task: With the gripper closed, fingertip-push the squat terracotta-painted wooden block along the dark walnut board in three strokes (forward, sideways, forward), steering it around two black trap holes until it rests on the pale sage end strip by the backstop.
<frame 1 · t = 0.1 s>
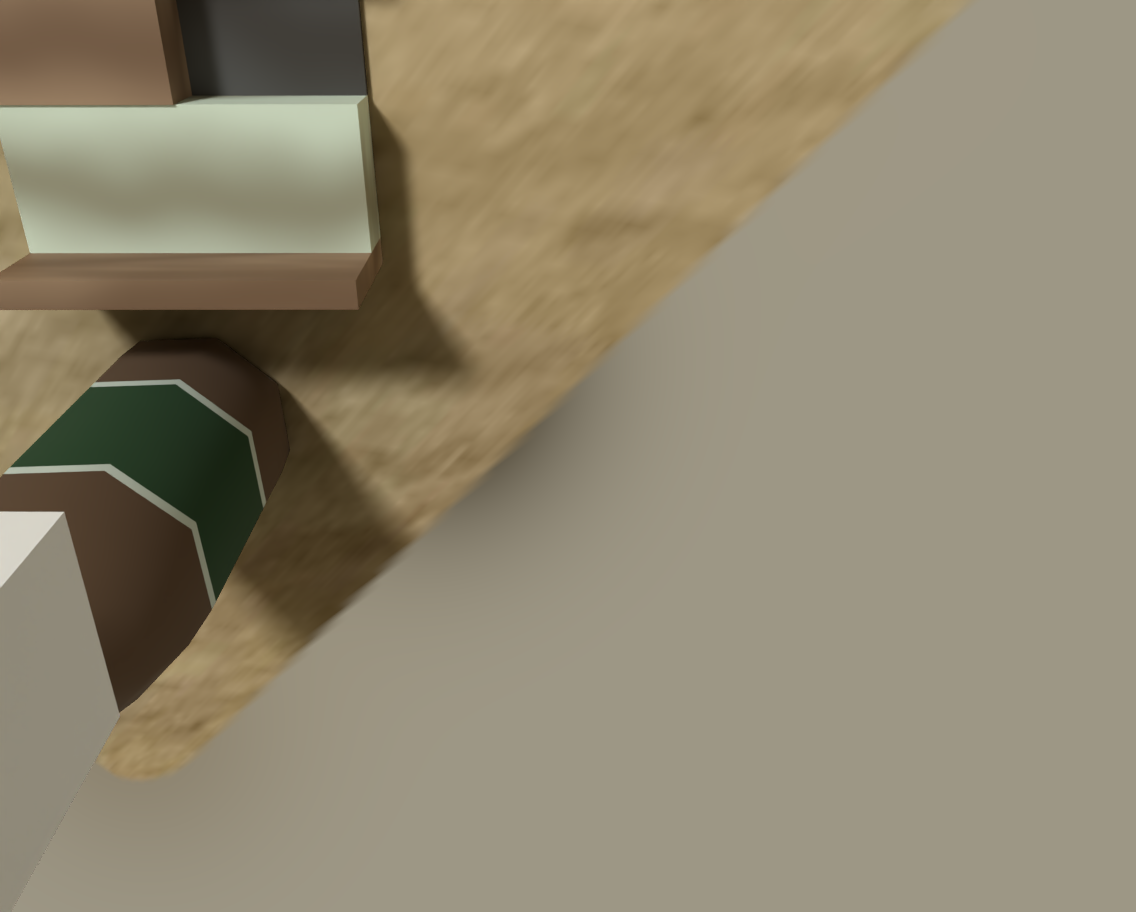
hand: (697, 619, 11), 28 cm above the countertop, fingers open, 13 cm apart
beer bottle: (201, 414, 41), on the countertop
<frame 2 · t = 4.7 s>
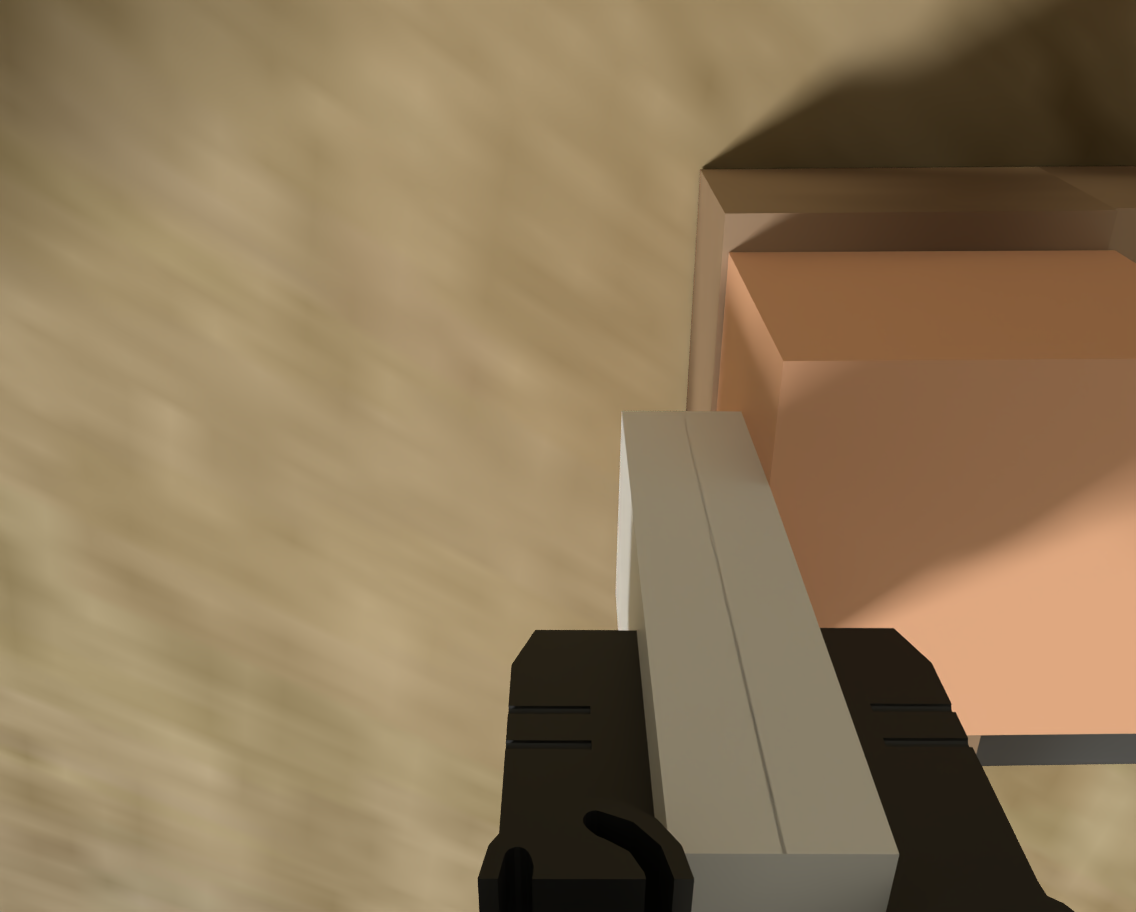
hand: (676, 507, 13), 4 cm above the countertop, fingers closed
block: (892, 423, 14), point 2 cm above the countertop, touching gripper
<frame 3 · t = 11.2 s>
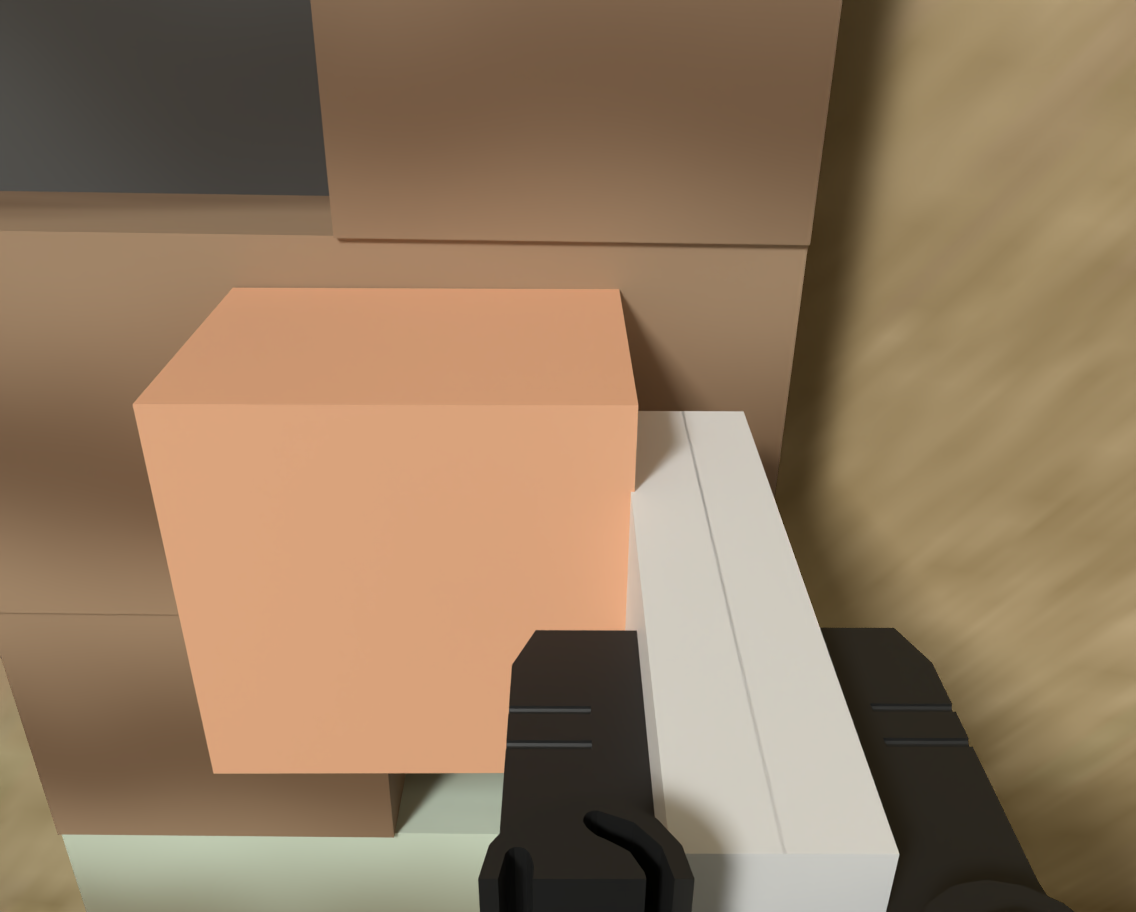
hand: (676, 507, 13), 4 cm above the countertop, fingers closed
block: (437, 457, 14), point 2 cm above the countertop, touching board, gripper
board: (380, 381, 16), on the countertop
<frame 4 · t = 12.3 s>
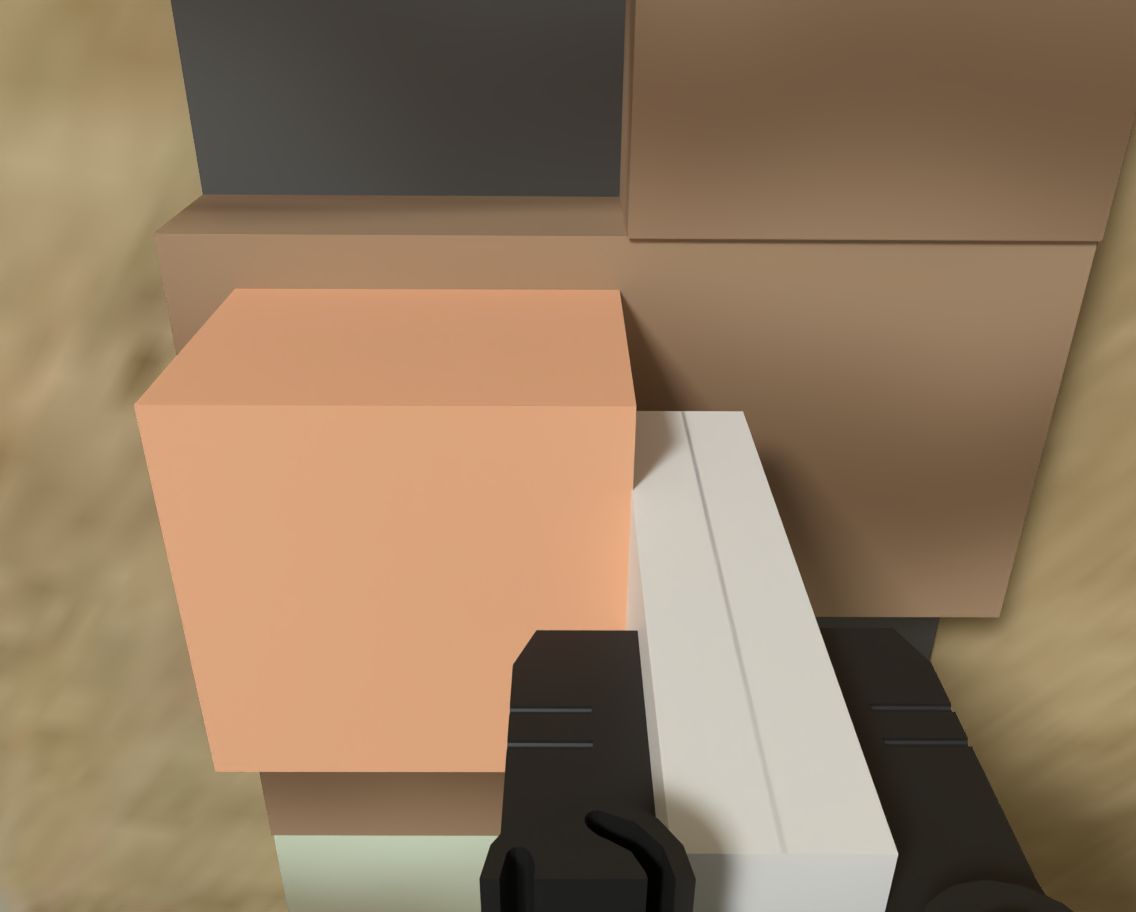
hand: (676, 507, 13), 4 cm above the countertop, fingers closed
block: (438, 457, 14), point 2 cm above the countertop, touching board, gripper
board: (613, 381, 16), on the countertop
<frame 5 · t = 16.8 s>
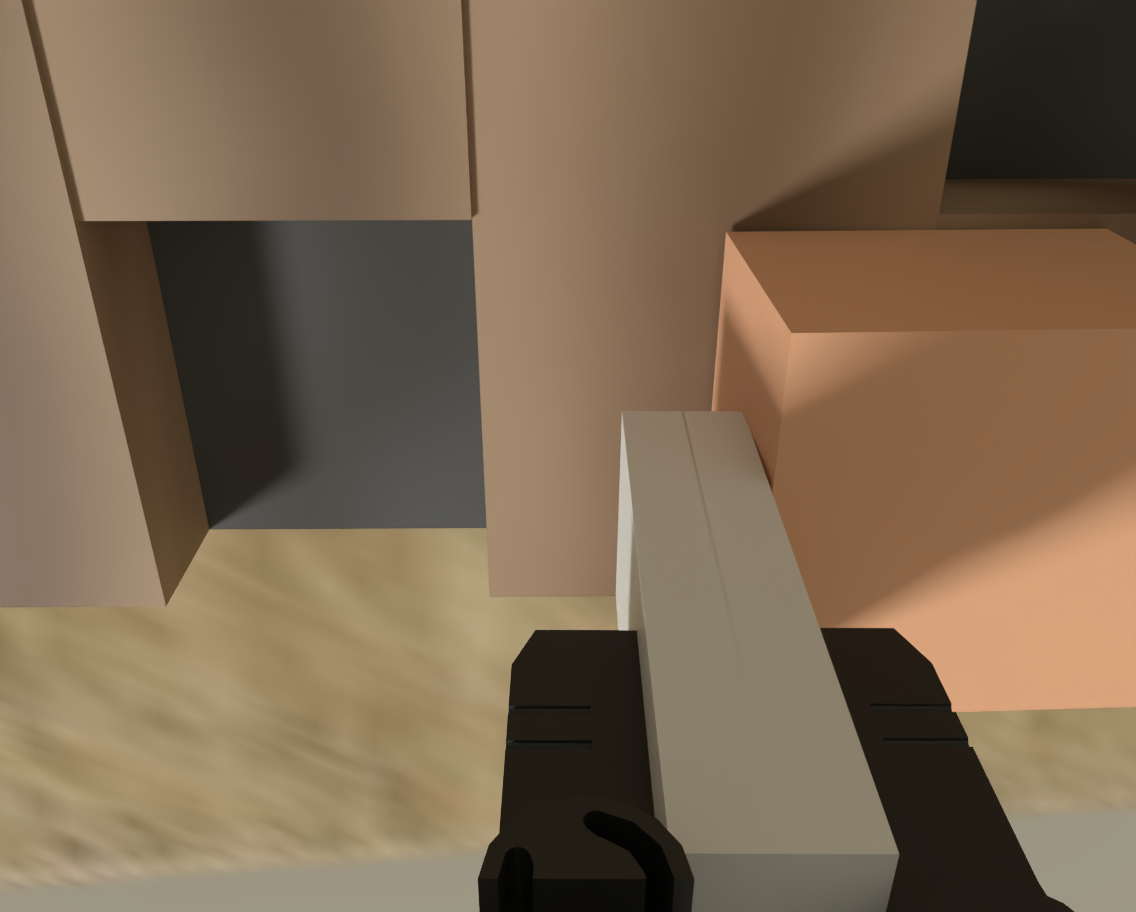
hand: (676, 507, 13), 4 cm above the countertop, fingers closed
block: (887, 404, 14), point 2 cm above the countertop, touching gripper
board: (686, 176, 15), on the countertop
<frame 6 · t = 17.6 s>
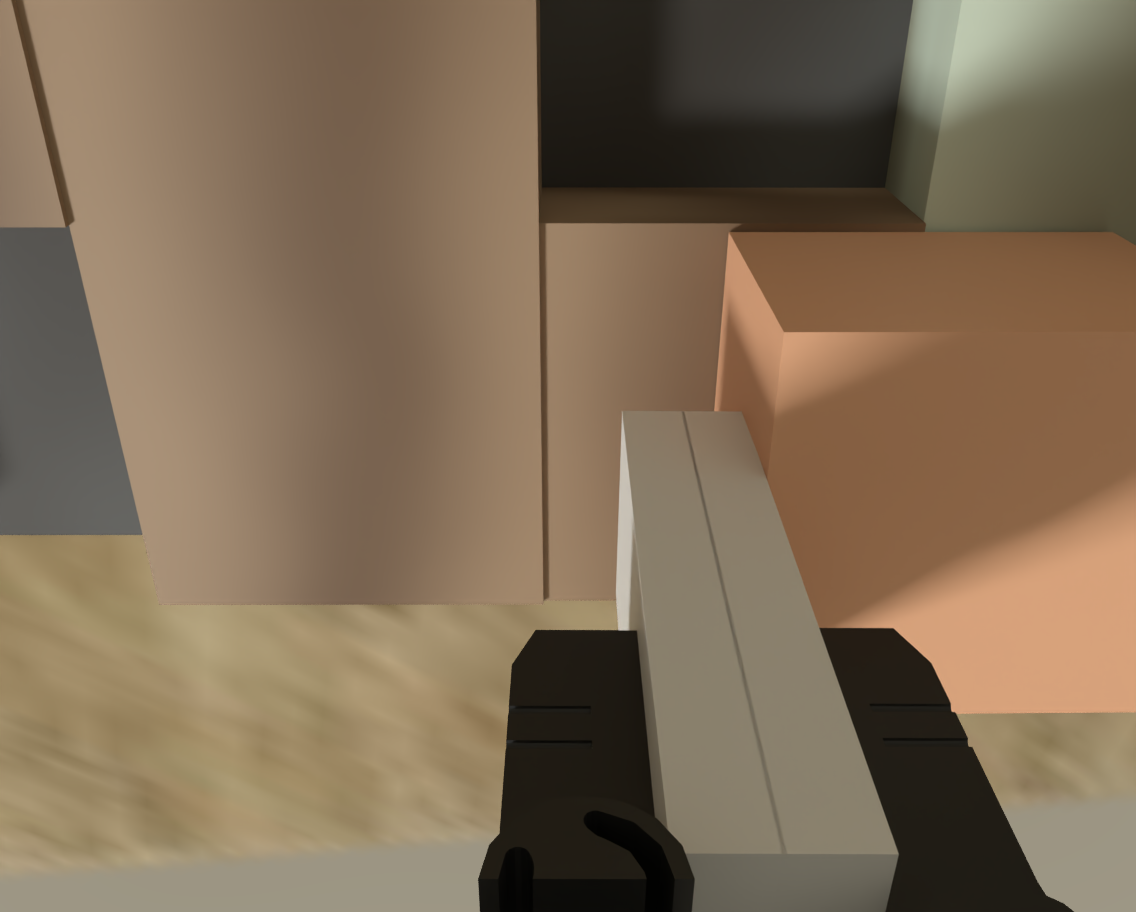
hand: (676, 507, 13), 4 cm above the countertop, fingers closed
block: (890, 406, 14), point 2 cm above the countertop, touching gripper
board: (337, 184, 15), on the countertop
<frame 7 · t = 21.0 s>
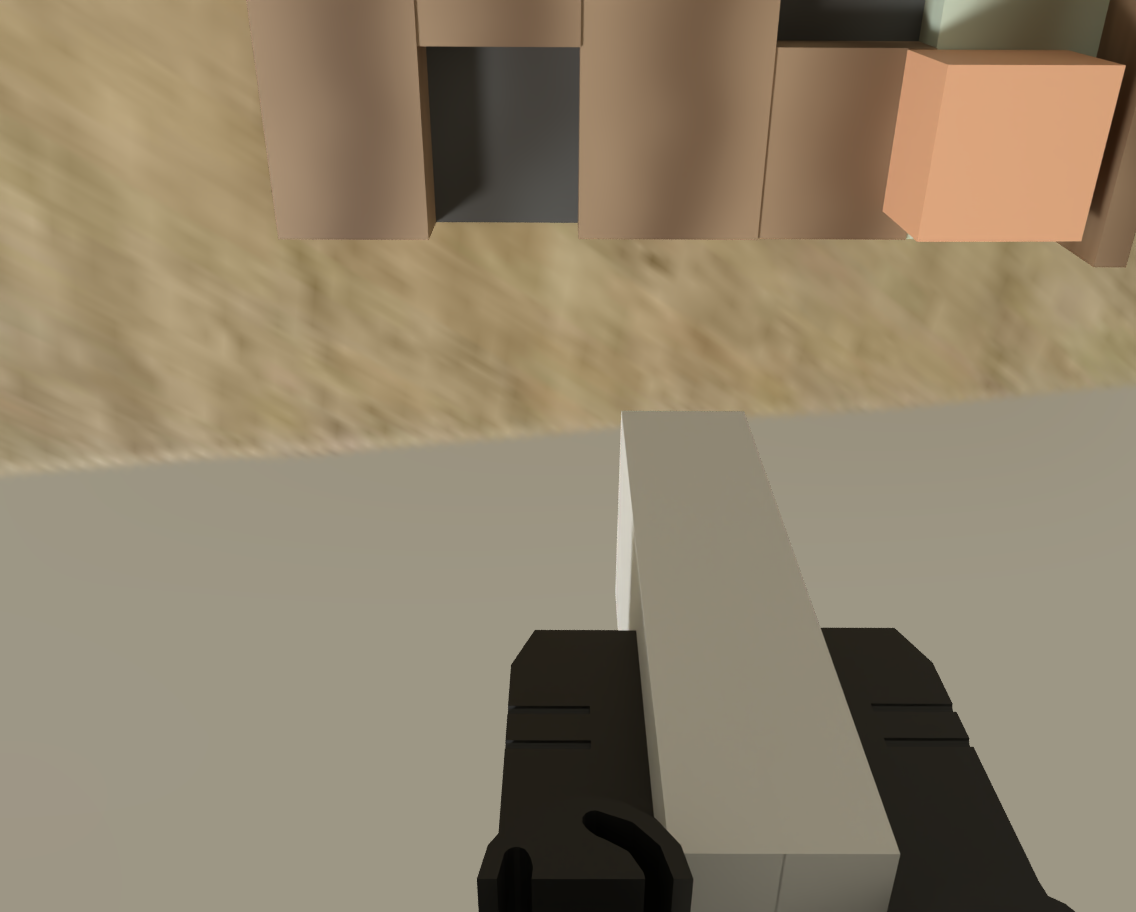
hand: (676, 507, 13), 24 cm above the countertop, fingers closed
block: (971, 133, 32), point 2 cm above the countertop, touching board
board: (671, 39, 33), on the countertop
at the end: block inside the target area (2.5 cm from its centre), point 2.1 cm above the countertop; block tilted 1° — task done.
